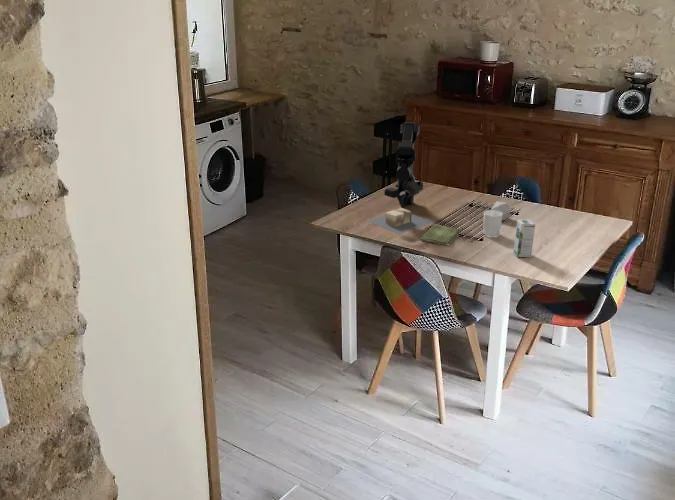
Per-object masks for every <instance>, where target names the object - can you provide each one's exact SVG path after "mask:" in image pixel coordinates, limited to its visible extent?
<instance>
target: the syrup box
mask: <svg viewBox="0 0 675 500" xmlns="http://www.w3.org/2000/svg"><path fill="white" fill-rule="evenodd" d="M535 229H536V223H534V221H532V219H526V218H521V219H517V223H516V231H515V237H514V243H513V244H514V245H513V254H514V253H515V254H514V255H515V257H516V258H517V257H529V258H532V252H533V244H534V237H535V231H536V230H535Z"/></svg>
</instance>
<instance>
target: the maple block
mask: <svg viewBox="0 0 675 500" xmlns="http://www.w3.org/2000/svg"><path fill="white" fill-rule="evenodd" d="M411 214H412V210H409V209H406V208H402V207H399V208H397V209H393V210H389V211H387V212H385V216H386V223H387V224H389V225H392V226H394V227H396V226H399V225H402V224H406V223H409V222H411Z"/></svg>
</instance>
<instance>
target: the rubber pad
mask: <svg viewBox="0 0 675 500" xmlns="http://www.w3.org/2000/svg"><path fill="white" fill-rule="evenodd" d="M367 222H369V223H371V224H374V225H376V226H378V227H381V228H384V229H386V230H388V231H391V232H393V233H396V234H399V235H400V234H402V233H406V232H410V231H413V230H416V229H418V228H421V227H424V226H428V225H431V224H435V222H434V221H432V220H430V219H426V218H424V217H422V216H421V217H420V216H418V215H417V214H414V213H413V214H411V222H409V223H406V224H402V225H399V226H396V227H394V226H392V225H389V224H387V223H386V215H383V216H380V217H375V218H373V219H370V220H367Z"/></svg>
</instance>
